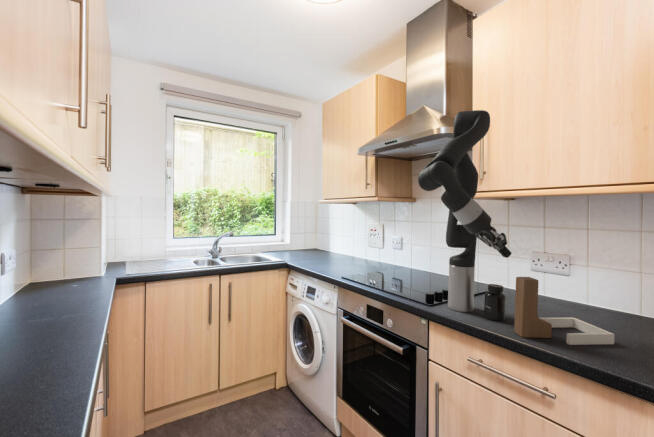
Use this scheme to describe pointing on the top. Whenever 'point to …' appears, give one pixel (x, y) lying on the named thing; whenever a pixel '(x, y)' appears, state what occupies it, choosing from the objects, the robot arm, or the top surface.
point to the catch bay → (591, 332)
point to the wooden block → (529, 310)
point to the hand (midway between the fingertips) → (508, 255)
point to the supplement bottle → (494, 303)
